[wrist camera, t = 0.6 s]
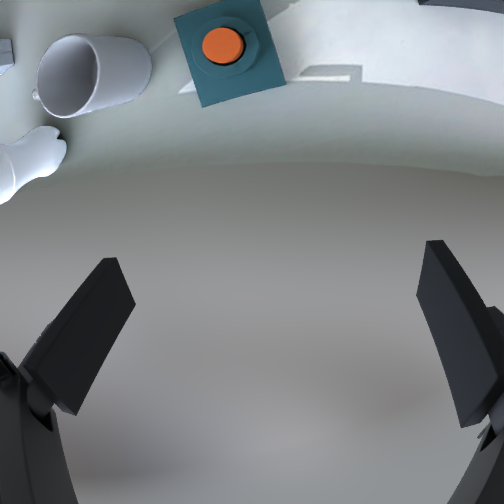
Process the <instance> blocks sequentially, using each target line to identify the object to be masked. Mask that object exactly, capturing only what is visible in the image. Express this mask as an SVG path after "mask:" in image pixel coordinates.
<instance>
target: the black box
mask: <svg viewBox="0 0 504 504" xmlns="http://www.w3.org/2000/svg"><path fill="white" fill-rule="evenodd" d="M418 3H419V5H431V6H448V7H459V8H468V9H476V10H483V11H490V12H496V13H501V14H504V0H418Z"/></svg>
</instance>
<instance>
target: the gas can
mask: <svg viewBox="0 0 504 504" xmlns="http://www.w3.org/2000/svg"><path fill="white" fill-rule="evenodd" d="M13 65H14V61H13V54H12V46H11V39H2V40H0V76H1V75H2V74H3V73H4V72H5V71H7V70H8V69H9V68H11V67H12V66H13Z"/></svg>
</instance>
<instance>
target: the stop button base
mask: <svg viewBox="0 0 504 504" xmlns="http://www.w3.org/2000/svg"><path fill="white" fill-rule="evenodd" d="M174 22H175V25H176V28H177V31H178V35H179V38H180V41H181V44H182V47H183V50H184V53H185V56H186V59H187V62H188V65H189V68H190V72H191V75H192V78H193V81H194V84H195V87H196V90H197V93H198V96H199V99H200V102H201V105H202V108H203V107H206V106H209V105H213V104H216V103H219V102H222V101H226V100H229V99H233V98H236V97H240V96H243V95H247V94H251V93H255V92H258V91H262V90H266V89H271V88H275V87H279V86H283V85H286V82H285V79H284V75H283V72H282V68H281V65H280V62H279V58H278V55H277V52H276V49H275V45H274V42H273V39H272V36H271V33H270V30H269V27H268V24H267V21H266V18H265V15H264V12H263V9H262V6H261V3H260V0H224V1H221V2H218V3H215V4H212V5H209V6H206V7H203V8H200V9H197V10H195V11H192V12H189V13H187V14H184V15H182V16H179V17H177V18H174ZM217 28H229V29H231V30H233V31H234V32H236V33H237V34H238V35H239V36H240V37H241V38H242V41H243V45H244V46H243V51H242V53H241V55H240V56H239V58H237V59H236V60H235V61H233V62H230V63H218V62H214V61H212V60H210V59H208V58H207V57H206V55H205V54H204V52H203V47H202V45H203V40H204V38H205V37H206V35H207V34H208V33H209V32H211V31H212V30H214V29H217Z"/></svg>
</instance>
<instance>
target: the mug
mask: <svg viewBox="0 0 504 504" xmlns="http://www.w3.org/2000/svg"><path fill="white" fill-rule="evenodd" d="M151 71H152V63H151V58H150V55H149V53H148V51H147V49H146V48H145V47H144V46H143V45H142V44H141V43H140V42H138V41H136V40H134V39H130V38H123V37H111V36H101V35H90V34H69V35H66V36H63V37H61V38H59V39H58V40H56V41H55V42H54V43H53V44H52V45H51V46H50V47H49V48H48V49H47V50H46V52H45V53H44V55H43V57H42V59H41V61H40V63H39V66H38V70H37V76H36V88H35V89H34V90H33V98H34V99H35V100H40V102H41V104H42V105H43V107H44V108H45V109H46V111H48V112H49V113H50V114H52V115H53V116H56V117H59V118H70V117H74V116H78V115H81V114H85V113H88V112H91V111H95V110H98V109H102V108H106V107H110V106H114V105H119V104H123V103H126V102H129V101H131V100H133V99H134V98H136V97H137V96H138V95H140V94H141V92H142V91H143V90H144V89H145V87H146V86H147V84H148V82H149V79H150V76H151Z"/></svg>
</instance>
